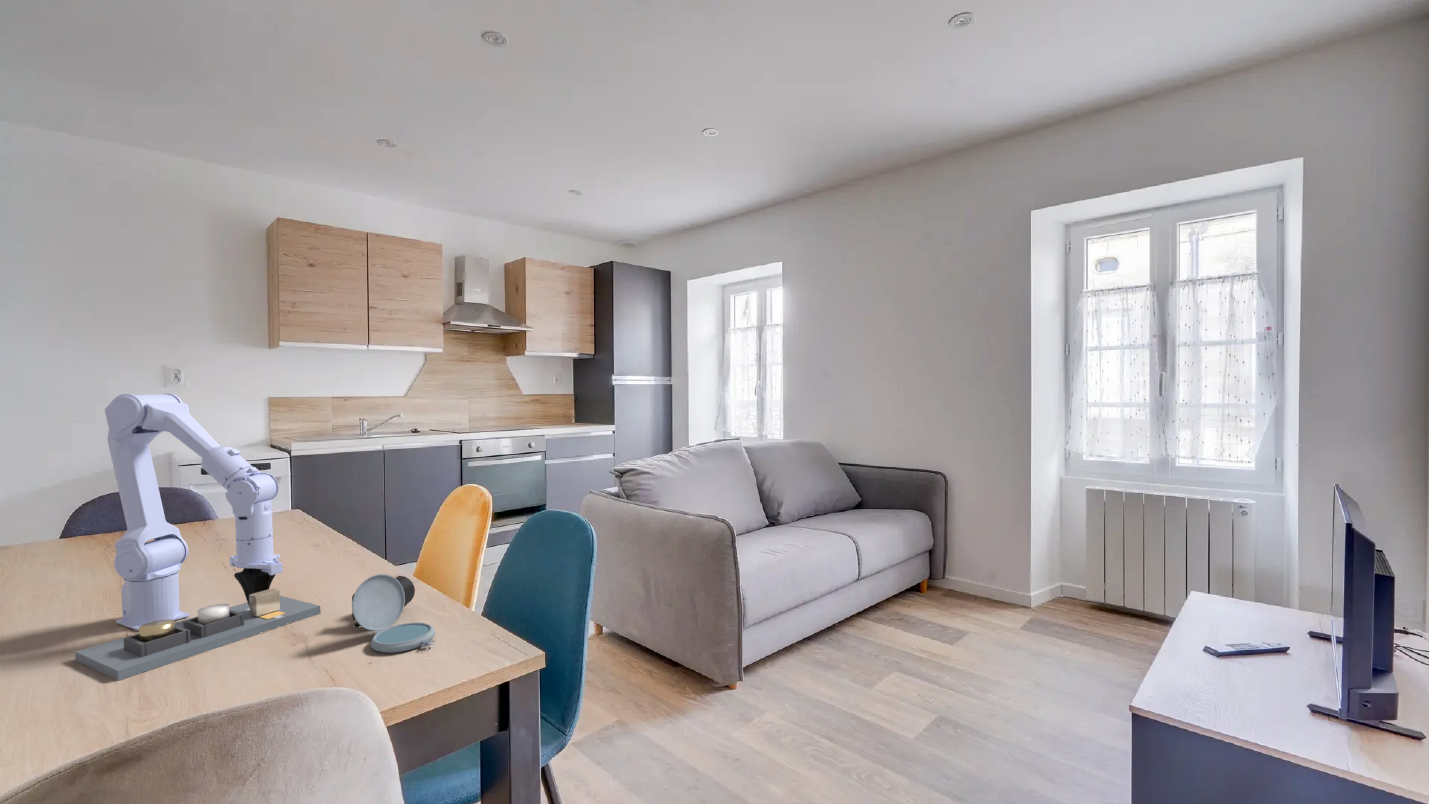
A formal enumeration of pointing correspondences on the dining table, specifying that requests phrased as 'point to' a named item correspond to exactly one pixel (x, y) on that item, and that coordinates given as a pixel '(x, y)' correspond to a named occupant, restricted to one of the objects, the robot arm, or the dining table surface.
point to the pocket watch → (388, 616)
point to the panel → (188, 639)
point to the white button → (213, 613)
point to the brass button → (156, 629)
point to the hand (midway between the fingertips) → (257, 606)
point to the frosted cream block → (264, 602)
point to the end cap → (408, 592)
